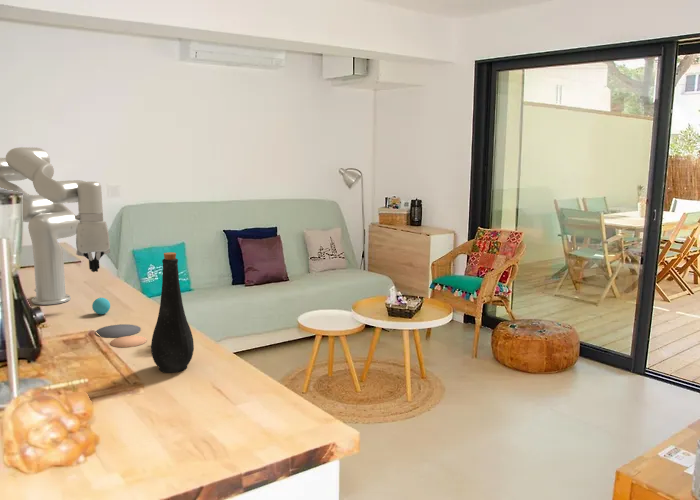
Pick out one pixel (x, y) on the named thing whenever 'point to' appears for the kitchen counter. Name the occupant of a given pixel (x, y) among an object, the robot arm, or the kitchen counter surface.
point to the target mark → (118, 330)
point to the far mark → (128, 341)
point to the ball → (101, 306)
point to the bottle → (171, 323)
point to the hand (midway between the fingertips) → (94, 271)
